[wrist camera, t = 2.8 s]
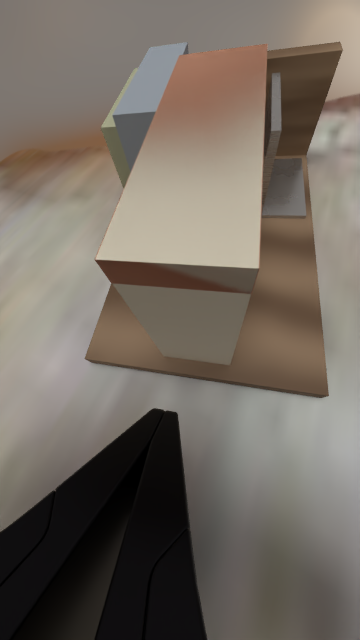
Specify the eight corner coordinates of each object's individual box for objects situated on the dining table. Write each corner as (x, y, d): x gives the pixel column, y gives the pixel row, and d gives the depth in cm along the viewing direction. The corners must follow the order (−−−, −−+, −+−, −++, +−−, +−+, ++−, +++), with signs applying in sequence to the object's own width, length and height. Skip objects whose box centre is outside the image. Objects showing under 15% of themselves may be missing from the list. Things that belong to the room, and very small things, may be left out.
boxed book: (230, 365, 14) (259, 268, 5) (163, 356, 15) (94, 259, 6) (242, 213, 20) (267, 43, 11) (193, 213, 21) (179, 55, 12)
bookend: (305, 218, 19) (346, 126, 13) (253, 217, 20) (271, 131, 14) (300, 161, 22) (332, 66, 16) (256, 162, 23) (271, 73, 17)
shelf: (321, 397, 14) (437, 368, 7) (91, 362, 17) (2, 316, 10) (301, 156, 24) (340, 41, 17) (159, 161, 27) (140, 66, 20)
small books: (179, 228, 20) (159, 111, 13) (132, 227, 21) (88, 117, 14) (195, 161, 24) (187, 42, 17) (155, 163, 25) (130, 50, 18)
